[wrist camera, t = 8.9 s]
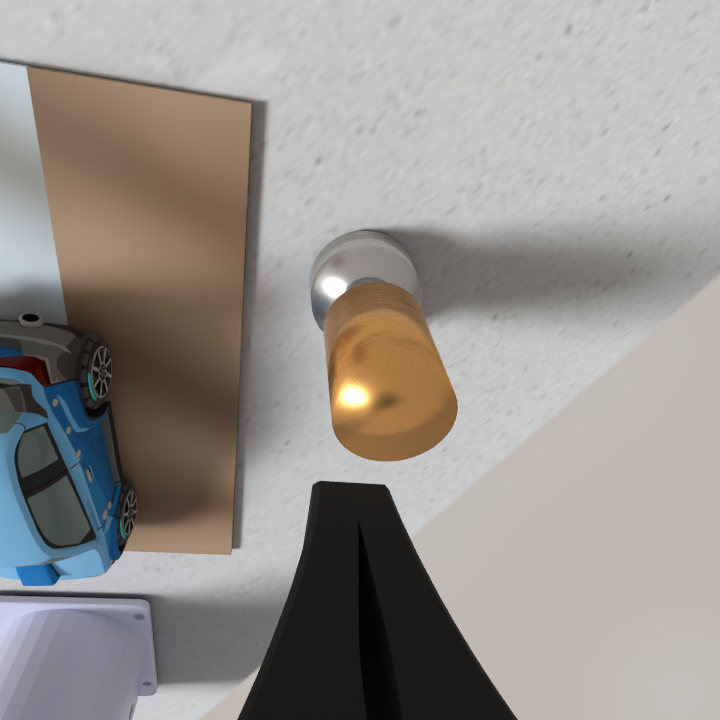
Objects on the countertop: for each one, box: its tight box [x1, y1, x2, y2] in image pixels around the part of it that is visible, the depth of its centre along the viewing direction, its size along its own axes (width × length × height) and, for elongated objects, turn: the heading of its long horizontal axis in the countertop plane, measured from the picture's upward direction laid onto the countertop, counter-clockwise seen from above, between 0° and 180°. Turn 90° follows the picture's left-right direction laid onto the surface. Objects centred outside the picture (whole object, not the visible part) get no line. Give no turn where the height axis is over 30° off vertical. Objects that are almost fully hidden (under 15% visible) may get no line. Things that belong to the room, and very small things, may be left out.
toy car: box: [0, 312, 137, 586], centre depth 18 cm, size 6×12×6 cm, turn 175°
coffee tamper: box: [310, 231, 458, 461], centre depth 15 cm, size 4×4×7 cm
